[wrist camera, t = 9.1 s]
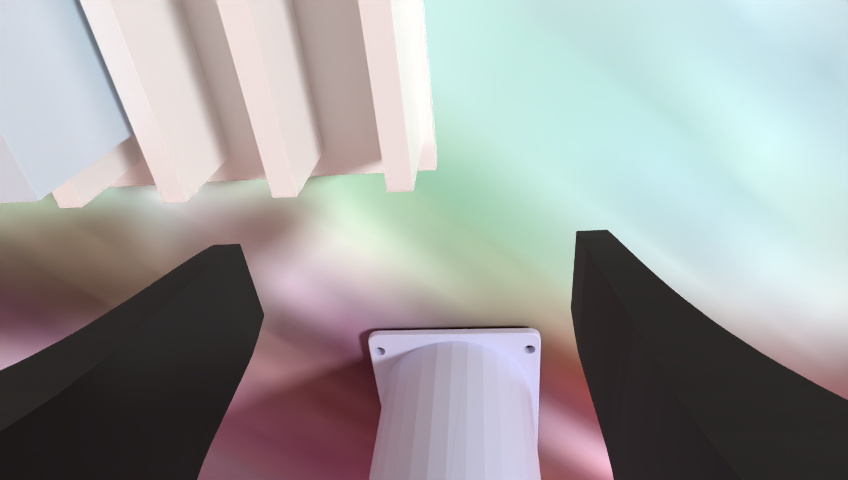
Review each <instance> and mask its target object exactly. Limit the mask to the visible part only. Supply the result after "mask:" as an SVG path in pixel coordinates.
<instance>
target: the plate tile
mask: <svg viewBox="0 0 848 480" xmlns="http://www.w3.org/2000/svg"><path fill="white" fill-rule="evenodd" d="M133 134H134V131H133V128H132V126H131V123H130V121H129V118H128V116H127V114H126V111H125V109H124V106H123V104H122V102H121V99H120V97H119V94H118V92H117V89H116V87H115V85H114V82H113V80H112V77H111V75H110V73H109V70H108V68H107V65H106V63H105V60H104V58H103V56H102V53H101V51H100V48H99V46H98V43H97V41H96V39H95V36H94V34H93V31H92V29H91V27H90V24H89V22H88V19H87V17H86V14H85V12H84V10H83V7H82V5H81V2H80V0H0V203H13V202H34V201H40V200H41V199H42V198H44V197H45V196H47V195H48V194H49V193H51V192H52V191H54V190H55V189H57V188H58V187H59V186H61V185H62V184H64V183H65V182H66V181H68V180H69V179H71V178H72V177H73V176H75V175H76V174H78V173H79V172H80V171H82V170H83V169H85V168H86V167H88V166H89V165H90V164H92V163H93V162H95V161H96V160H97V159H99V158H100V157H102V156H103V155H104V154H106V153H107V152H109V151H110V150H112V149H113V148H114V147H116V146H117V145H119V144H120V143H121V142H123V141H124V140H126V139H127V138H128V137H130V136H131V135H133Z"/></svg>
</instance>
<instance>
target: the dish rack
mask: <svg viewBox="0 0 848 480" xmlns="http://www.w3.org/2000/svg"><path fill="white" fill-rule="evenodd" d="M80 2H81V5H82V7H83V10H84V12H85V14H86V17H87V19H88V22H89V24H90V27H91V29H92V31H93V34H94V36H95V39H96V41H97V43H98V46H99V48H100V51H101V53H102V56H103V58H104V60H105V63H106V65H107V68H108V70H109V73H110V75H111V77H112V80H113V82H114V85H115V87H116V89H117V92H118V94H119V97H120V99H121V102H122V104H123V106H124V109H125V111H126V114H127V116H128V118H129V121H130V123H131V126H132V128H133V131H134V134H133V135H131V136H130V137H128V138H127V139H126V140H124V141H123V142H121V143H120V144H119V145H117V146H116V147H114V148H113V149H112V150H110V151H109V152H107V153H106V154H104V155H103V156H102V157H100V158H99V159H97V160H96V161H95V162H93V163H92V164H90V165H89V166H88V167H86V168H85V169H83V170H82V171H80V172H79V173H78V174H76V175H75V176H73V177H72V178H71V179H69V180H68V181H66V182H65V183H64V184H62V185H61V186H59V187H58V188H57V189H55V190H54V191H52V194H53V196H54V198H55V200H56V202H57V204H58V205H59V207H60V208H76V207H83V206H85V205H86V204H87V203H88V202H90V201H91V200H92V199H93V198H95V197H96V196H97V195H98V194H100V193H101V192H102V191H103V190H105V189H106V188H107V187H120V186H139V185H156V186H157V189H158V191H159V193H160V196H161V198H162V201H163V203H178V202H188V201H189V200H190V199H191V197H192V196H193V195H194V194H195V193H196V192H197V191H198V190H199V189H200V188H201V187H202V186H203V184H204V183H205V182H214V181H233V180H252V179H267V181H268V184H269V188H270V191H271V195H272V198H281V197H297V196H298V195H299V193H300V191H301V189H302V188H303V186H304V184H305V183H306V181H307V179H308V177H309V176H327V175H346V174H364V173H383V172H384V176H385V183H386V189H387V192H404V191H413V190H414V185H415V180H416V175H417V171H421V170H436V167H437V159H438V156H437V145H436V134H435V122H434V111H433V100H432V88H431V77H430V66H429V54H428V43H427V32H426V20H425V9H424V0H80Z"/></svg>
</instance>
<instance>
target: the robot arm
mask: <svg viewBox="0 0 848 480" xmlns="http://www.w3.org/2000/svg"><path fill="white" fill-rule="evenodd" d="M571 312H572V318H573V325H574V331H575V337H576V343H577V349H578V353H579V357H580V360H581V364H582V367H583V370H584V374H585V377H586V381H587V384H588V387H589V391H590V394H591V397H592V401H593V404H594V407H595V411H596V414H597V417H598V421H599V424H600V427H601V431H602V434H603V437H604V441H605V444H606V448H607V452H608V456H609V460H610V464H611V468H612V472H613V477H614V480H848V400H846V399H844V398H842V397H840V396H839V395H837V394H835V393H833V392H831V391H829V390H827V389H825V388H823V387H821V386H819V385H817V384H815V383H814V382H812V381H810V380H808V379H806V378H805V377H803V376H801V375H799V374H797V373H795V372H794V371H792V370H790V369H788V368H786V367H785V366H783V365H781V364H779V363H778V362H776V361H774V360H773V359H771V358H769V357H768V356H766V355H764V354H762V353H761V352H759V351H758V350H756V349H755V348H753V347H752V346H750V345H748V344H747V343H745V342H744V341H742V340H741V339H739V338H738V337H736V336H735V335H733V334H731V333H730V332H728V331H727V330H725V329H724V328H723V327H721V326H720V325H718V324H717V323H715V322H714V321H713V320H711V319H710V318H709V317H707V316H706V315H705V314H703V313H702V312H701V311H699V310H698V309H697V308H695V307H694V306H693V305H692V304H690V303H689V302H688V301H686V300H685V299H684V298H683V297H681V296H680V295H679V294H678V293H676V292H675V291H674V290H673V289H672V288H670V287H669V286H668V285H667V284H666V283H664V282H663V281H662V280H661V279H660V278H659V277H658V276H656V275H655V274H654V273H653V272H652V271H651V270H650V269H649V268H647V267H646V266H645V265H644V264H643V263H642V262H641V261H640V260H639V259H638V258H637V257H636V256H635V255H634V254H632V253H631V252H630V251H629V250H628V249H627V248H626V247H625V246H624V245H623V244H622V243H621V242H620V241H619V240H618V239H617V238H616V237H615V236H614V235H612V234H611V233H610V232H609V231H608V230H593V231H576V245H575V259H574V273H573V287H572V301H571ZM263 318H264V313H263V310H262V307H261V304H260V301H259V298H258V296H257V293H256V290H255V287H254V284H253V281H252V278H251V275H250V272H249V269H248V266H247V263H246V260H245V257H244V254H243V251H242V249H241V246H240V244H228V245H213V246H211V247H209V248H207V249H205V250H204V251H202V252H200V253H199V254H197V255H195V256H194V257H192V258H191V259H189V260H187V261H186V262H184V263H183V264H181V265H180V266H178V267H177V268H175V269H174V270H172V271H171V272H169V273H168V274H166V275H165V276H163V277H162V278H160V279H159V280H157V281H156V282H154V283H153V284H151V285H150V286H148V287H147V288H145V289H144V290H142V291H141V292H139V293H138V294H136V295H135V296H133V297H132V298H130V299H129V300H127V301H125V302H124V303H122V304H120V305H119V306H117V307H116V308H114V309H112V310H111V311H109V312H108V313H106V314H104V315H103V316H101V317H100V318H98V319H96V320H95V321H93V322H92V323H90V324H88V325H87V326H85V327H83V328H82V329H80V330H78V331H76V332H75V333H73V334H71V335H69V336H68V337H66V338H64V339H62V340H60V341H59V342H57V343H55V344H53V345H51V346H49V347H47V348H45V349H43V350H41V351H40V352H38V353H36V354H34V355H32V356H30V357H28V358H26V359H24V360H22V361H20V362H18V363H16V364H14V365H12V366H9V367H7V368H5V369H3V370H1V371H0V480H197V478H198V475H199V472H200V469H201V466H202V464H203V461H204V459H205V457H206V454H207V452H208V449H209V447H210V445H211V442H212V440H213V438H214V436H215V434H216V432H217V430H218V428H219V426H220V423H221V421H222V419H223V417H224V415H225V413H226V411H227V409H228V407H229V404H230V402H231V400H232V398H233V396H234V394H235V392H236V390H237V388H238V385H239V383H240V381H241V379H242V377H243V375H244V372H245V370H246V368H247V366H248V364H249V361H250V359H251V357H252V354H253V351H254V348H255V345H256V342H257V339H258V336H259V332H260V328H261V325H262V321H263ZM368 345H369V350H370V355H371V359H372V364H373V369H374V374H375V379H376V383H377V388H378V393H379V398H380V403H381V407H382V408H381V414H380V419H379V425H378V430H377V436H376V442H375V447H374V453H373V459H372V464H371V470H370V475H369V480H541V477H540V468H539V459H538V451H537V439H538V408H539V378H540V347H541V339H540V334H539V332H538V331H537V330H535V329H532V328H505V329H448V330H392V331H374V332H372V333H371V334H370V336H369V339H368ZM528 345H531V346H532V347H529V348H528V347H526V346H528ZM378 347H380V348H383V349H378Z"/></svg>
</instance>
